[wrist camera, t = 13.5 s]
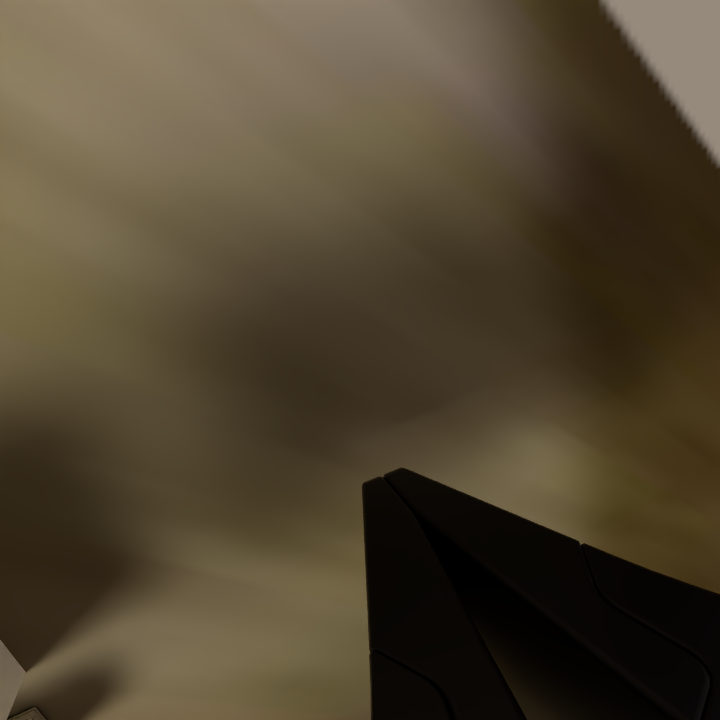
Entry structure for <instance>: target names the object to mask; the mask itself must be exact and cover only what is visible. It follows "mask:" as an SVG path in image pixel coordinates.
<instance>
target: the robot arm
mask: <svg viewBox="0 0 720 720" xmlns="http://www.w3.org/2000/svg"><path fill="white" fill-rule="evenodd" d="M362 499H363V521H364V543H365V565H366V587H367V610H368V632H369V650H370V655H369V661H370V683H371V720H720V594H717V593H714V592H711V591H709V590H706V589H703V588H700V587H697V586H694V585H691V584H688V583H686V582H683V581H680V580H677V579H674V578H672V577H669V576H666V575H663V574H660V573H657V572H655V571H652V570H649V569H647V568H644V567H642V566H639V565H637V564H634V563H632V562H629V561H627V560H624V559H621V558H619V557H616V556H614V555H611V554H609V553H606V552H604V551H602V550H599V549H597V548H595V547H592V546H590V545H587V544H585V543H583V544H582V545H580V543H579V541H577V540H575V539H573V538H570V537H568V536H565V535H563V534H561V533H558V532H556V531H554V530H551V529H549V528H546V527H544V526H542V525H539V524H537V523H534V522H532V521H530V520H527V519H525V518H522V517H520V516H518V515H515V514H513V513H511V512H508V511H506V510H503V509H501V508H499V507H496V506H494V505H491V504H489V503H487V502H484V501H482V500H480V499H477V498H475V497H472V496H470V495H468V494H465V493H463V492H460V491H458V490H456V489H453V488H451V487H448V486H446V485H444V484H441V483H439V482H437V481H434V480H432V479H429V478H427V477H425V476H422V475H420V474H417V473H415V472H413V471H410V470H408V469H405V468H399V469H396V470H394V471H391V472H389V473H386V474H385V475H384V477H376V478H374V479H371V480H369V481H366V482H364V483H363V484H362Z"/></svg>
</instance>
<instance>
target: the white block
mask: <svg viewBox="0 0 720 720" xmlns="http://www.w3.org/2000/svg"><path fill="white" fill-rule="evenodd" d="M25 674H26V672H25V671H24V669H23V668H22V667H21V666H20V664H19V663H18V662H17V660H16V659H15V658H14V657H13V655H12V654H11V653H10V652H9V650H8V649H7V648H6V646H5V645H4V644H3V643H2V641H1V640H0V720H7V718H8V715H9V713H10V710H11V708H12V706H13V703H14V701H15V698H16V696H17V693H18V691H19V688H20V686H21V684H22V681H23V679H24V676H25Z"/></svg>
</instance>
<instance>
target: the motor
mask: <svg viewBox="0 0 720 720" xmlns="http://www.w3.org/2000/svg"><path fill="white" fill-rule="evenodd" d="M7 720H46V719H45V718H44V717H43V716H42V715H41V713H40V712H39V711H38V710H37V708H36V707H34V708H32V709H30V710H27V711H25V712H23V713H21V714H18V715H16V716H14V717H12V718H10V719H7Z"/></svg>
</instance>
